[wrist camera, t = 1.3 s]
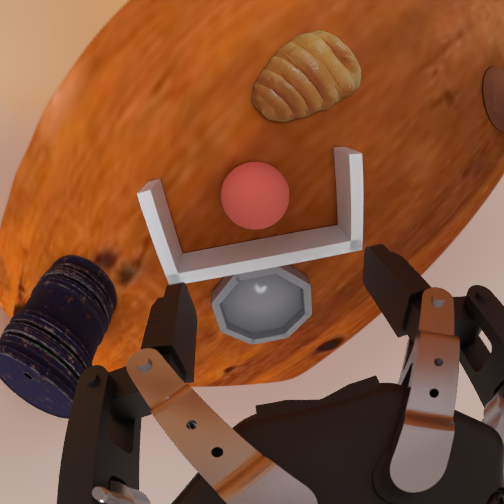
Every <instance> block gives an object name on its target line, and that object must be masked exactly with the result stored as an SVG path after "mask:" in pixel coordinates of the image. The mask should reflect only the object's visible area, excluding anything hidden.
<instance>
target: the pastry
mask: <svg viewBox="0 0 504 504" xmlns="http://www.w3.org/2000/svg"><path fill="white" fill-rule="evenodd" d="M360 79H361V68H360V65H359V63H358V62H357V60H356V58H355V56H354V55H353V53H352V52H351V50H350V49H349V48H348V47H347V46H346V45H345V44H344V43H342V42H341V41H340V39H339V38H337V37H336V36H334V35H332V34H330V33H327V32H325V31H322V30H316V31H314V32H312V33H306V34H302V35H298V36H296V37H294V38H293V39H292V40H291V41H290V42H289V43H287V44H286V45H285V46H283V47H282V48H280V49H279V50H278V51H277V52H276V54H275V55H274V56H273V57H272V59H271V61H270V62H269V64H268V65H267V66H266V67H265V69H264V70H263V71H262V72H261V74H260V76H259V77H258V79H257V81H256V82H255V84H254V91H253V97H252V102H253V104H254V105H255V107H256V108H257V109H258V110H259V111H260V112H261V113H262V114H263V115H264V117H266V118H267V119H269V120H274V121H279V122H287V121H290V120H293V119H296V118H303V117H307V116H309V115H311V114H313V113H316V112H318V111H320V110H329V109H330V108H331V107H332V106H333V104H334V103H336V102H338V101H339V100H340V99H342V98H347V97H349V96H351V94H352V92H353V90H354V89H357V88H358V87H359V86H360Z"/></svg>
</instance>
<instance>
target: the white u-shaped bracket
mask: <svg viewBox="0 0 504 504" xmlns="http://www.w3.org/2000/svg"><path fill="white" fill-rule="evenodd" d="M333 149H334V162H335V176H336V194H337V223H338V225H334V226H328V227H323V228H317V229H312V230H306V231H301V232H295V233H290V234H284V235H279V236H273V237H268V238H262V239H257V240H252V241H246V242H241V243H236V244H231V245H225V246H220V247H215V248H210V249H204V250H199V251H194V252H189V253H184V254H183V253H182V250H181V247H180V244H179V241H178V237H177V234H176V231H175V228H174V225H173V221H172V218H171V215H170V211H169V208H168V205H167V201H166V198H165V194H164V191H163V187H162V183H161V180H160V179H156V180H153V181H149V182H147V183H146V184H145V185H144V186H143V187H142V189H141V190H140V191H139V192H138V193H137V196H138V199H139V202H140V205H141V208H142V212H143V215H144V218H145V221H146V224H147V227H148V229H149V232H150V235H151V238H152V241H153V244H154V246H155V249H156V252H157V255H158V257H159V260H160V263H161V265H162V268H163V270H164V273H165V275H166V278H167V280H168V283H169V285H170V284H176V283H181V282H184V283H191V282H197V281H202V280H208V279H214V278H219V277H225V276H230V275H236V274H241V273H247V272H252V271H257V270H263V269H268V268H273V267H278V266H284V265H289V264H294V263H299V262H304V261H309V260H314V259H319V258H324V257H329V256H334V255H339V254H344V253H349V252H354V251H358V250H362V240H363V162H362V153H360V152H358V151H355V150H353V149H350V148H348V147H335V148H333Z"/></svg>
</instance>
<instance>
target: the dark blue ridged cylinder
mask: <svg viewBox="0 0 504 504" xmlns="http://www.w3.org/2000/svg"><path fill="white" fill-rule="evenodd" d="M116 304H117V295H116V291H115V288H114V286H113V284H112V282H111V280H110V279H109V277H108V276H107V275H106V273H105V272H104V271H103V270H102V269H101V268H100V267H98V266H97V265H96V264H95V263H93V262H91V261H90V260H88V259H85V258H83V257H80V256H74V255H67V256H63V257H61V258H59V259H58V260H57V261H56V262H55V263H54V264H53V265H52V267H51V268H50V269H49V270H48V271H47V272H45V274H44V275H43V276H42V277H41V279H40V280H39V282H38V284H37V285H36V286H35V288H34V289H33V291H32V294H31V297H30V298H29V300H28V301H27V302H26V304H25V305H24V307H23V308H22V310H21V311H19V312H18V313H16V314H15V315H14V316H13V317H12V319H11V321H10V324H8V325H7V327H6V328H5V330H4V331H3V333H2V335H1V338H0V379H1V380H2V381H3V382H4V383H5V384H6V385H7V386H8V387H9V388H10V389H11V390H12V391H13V392H14V393H16V394H17V395H18V396H19V397H21V398H22V399H23V400H25V401H26V402H28V403H29V404H31V405H32V406H34V407H36V408H38V409H40V410H42V411H44V412H46V413H48V414H51V415H54V416H57V417H61V418H67V419H69V416H70V412H71V408H72V403H73V399H74V395H75V392H76V388H77V384H78V381H79V378H80V376H81V374H82V373H83V372H84V371H85V370H86V369H87V368H89V367H91V366H92V360H93V358H94V355H95V352H96V349H97V347H98V345H99V344H100V343H101V342H102V339H103V337H104V334H105V333H106V332H107V329H108V327H109V324H110V322H111V317H112V314H113V312H114V310H115V308H116Z"/></svg>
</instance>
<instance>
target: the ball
mask: <svg viewBox="0 0 504 504" xmlns="http://www.w3.org/2000/svg"><path fill="white" fill-rule="evenodd" d="M289 197H290V195H289V187H288V184H287V182H286V180H285V178H284V176H283V175H282V174H281V173H280V172H279V171H278V170H277V169H276V168H275V167H273V166H271V165H269V164H267V163H263V162H247V163H244V164H241V165H239V166H237V167H236V168H234V169H233V170H232V171H231V172H230V173H229V174H228V175H227V177H226V178H225V180H224V182H223V185H222V188H221V203H222V207H223V209H224V211H225V213H226V214H227V216H228V217H229V218H230V219H231V220H232V221H233V222H234V223H235V224H237V225H239V226H241V227H243V228H246V229H252V230H258V229H264V228H267V227H270V226H272V225H273V224H275V223H276V222H277V221H279V220H280V219H281V218H282V216H283V215H284V213H285V212H286V210H287V207H288V204H289Z"/></svg>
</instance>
